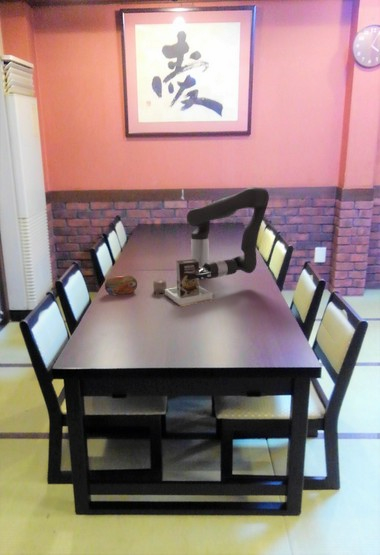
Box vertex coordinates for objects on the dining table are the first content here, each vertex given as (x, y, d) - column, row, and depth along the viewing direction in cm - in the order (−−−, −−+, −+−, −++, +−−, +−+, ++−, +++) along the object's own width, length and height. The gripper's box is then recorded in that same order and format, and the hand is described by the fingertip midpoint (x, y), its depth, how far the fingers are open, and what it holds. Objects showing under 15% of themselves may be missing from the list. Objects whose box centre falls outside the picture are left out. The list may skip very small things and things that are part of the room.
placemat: (165, 294, 218) (165, 293, 218) (193, 289, 224) (193, 288, 224) (181, 306, 203) (181, 305, 203) (212, 300, 209) (212, 299, 209)
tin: (105, 296, 219) (104, 278, 216) (105, 294, 222) (103, 277, 219) (137, 292, 223) (136, 275, 220) (136, 290, 226) (135, 273, 223)
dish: (164, 294, 217) (164, 289, 216) (195, 288, 224) (195, 283, 223) (179, 305, 203) (179, 299, 203) (211, 298, 210) (211, 293, 209)
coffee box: (180, 298, 209) (179, 264, 204) (176, 294, 215) (175, 260, 210) (200, 296, 212) (199, 261, 207) (195, 291, 218) (194, 258, 213)
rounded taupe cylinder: (151, 292, 221) (150, 282, 219) (157, 288, 226) (157, 278, 224) (162, 294, 219) (162, 284, 217) (168, 290, 224) (168, 280, 222)
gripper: (207, 258, 221) (176, 263, 215) (223, 265, 209) (190, 270, 202) (208, 273, 224) (177, 278, 217) (223, 281, 211) (190, 287, 205)
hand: (183, 274), depth 210 cm, fingers open, 8 cm apart
